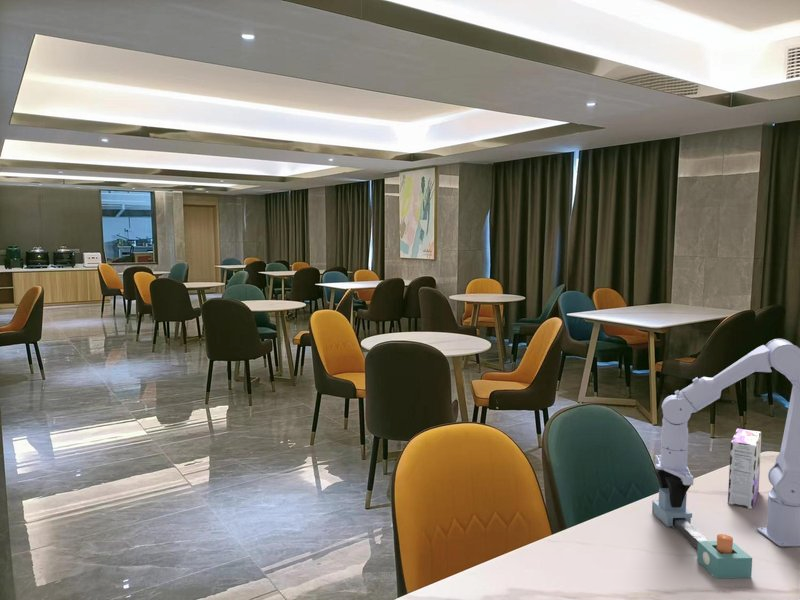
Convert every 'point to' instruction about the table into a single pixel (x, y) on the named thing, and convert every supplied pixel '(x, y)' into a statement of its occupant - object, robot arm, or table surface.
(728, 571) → the teal button housing
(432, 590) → the table surface
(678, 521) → the rail
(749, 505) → the candy box
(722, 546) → the plunger
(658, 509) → the carriage
